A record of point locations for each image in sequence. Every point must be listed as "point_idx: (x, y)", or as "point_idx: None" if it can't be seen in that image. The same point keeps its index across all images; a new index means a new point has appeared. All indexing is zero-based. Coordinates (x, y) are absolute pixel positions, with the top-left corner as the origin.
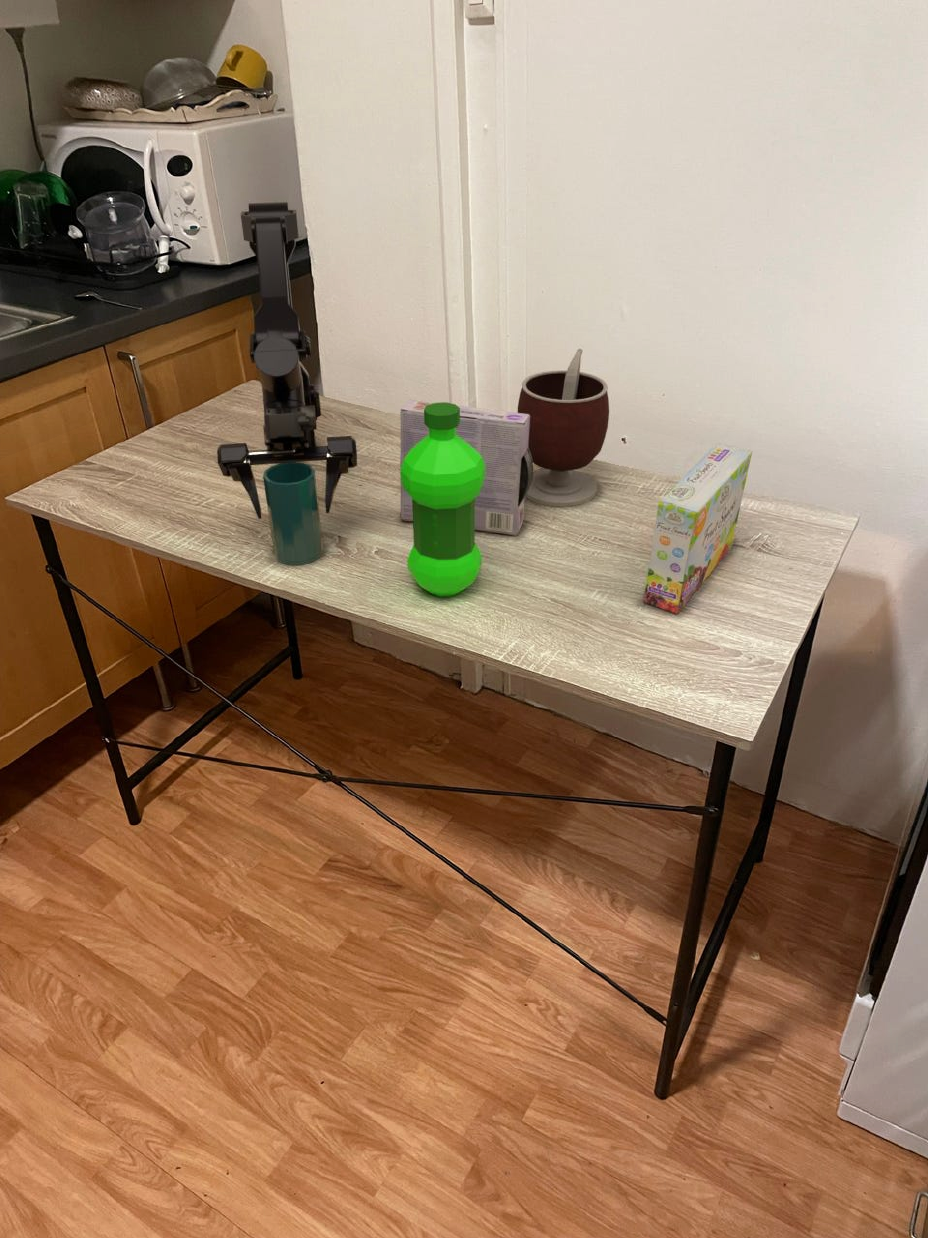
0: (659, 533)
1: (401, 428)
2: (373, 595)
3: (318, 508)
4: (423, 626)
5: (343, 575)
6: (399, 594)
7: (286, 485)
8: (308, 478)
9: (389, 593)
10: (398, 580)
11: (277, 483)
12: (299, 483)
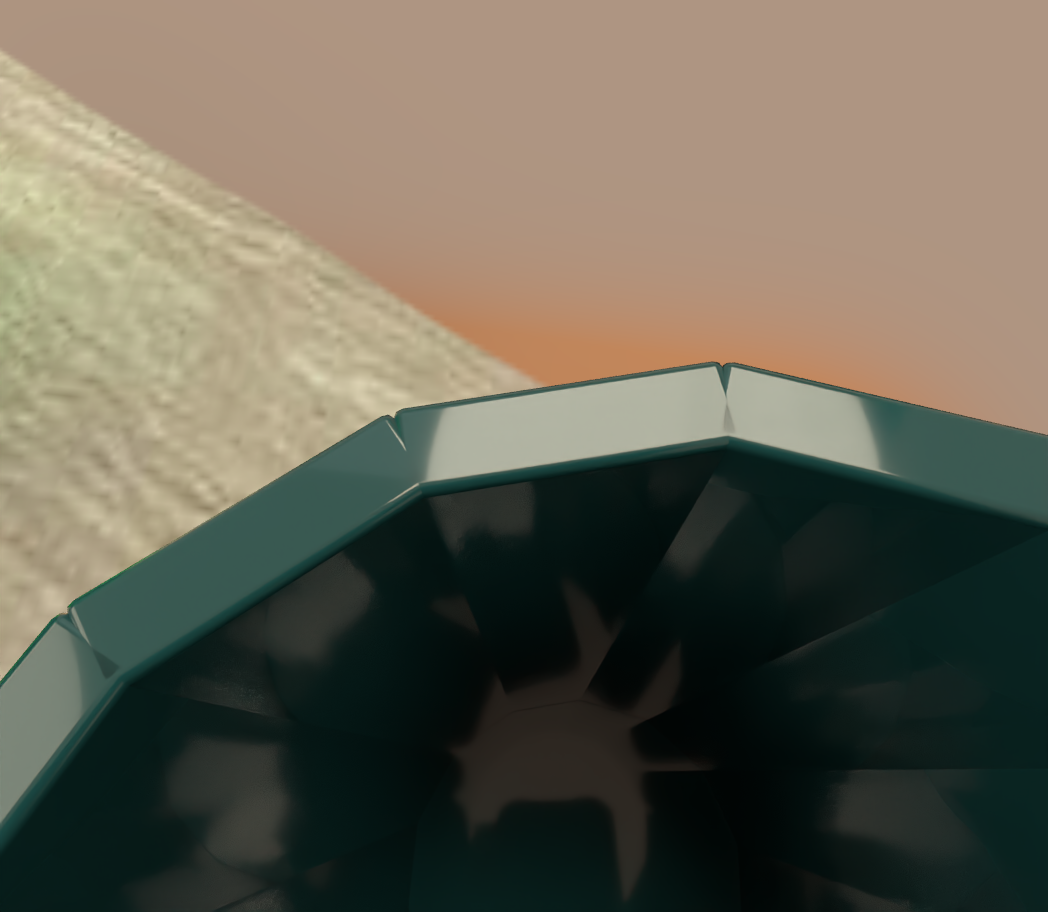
0: None
1: None
2: (177, 332)
3: None
4: (40, 122)
5: None
6: (51, 327)
7: (720, 385)
8: (27, 680)
9: (96, 340)
10: (9, 445)
11: (1010, 438)
12: (364, 444)
